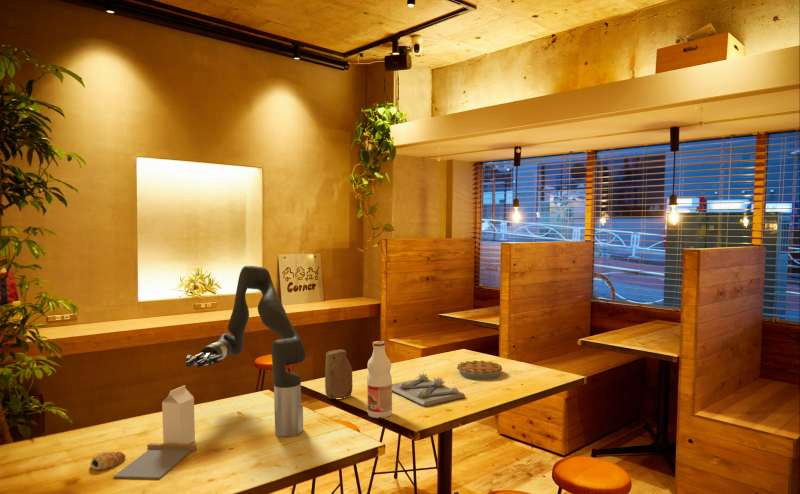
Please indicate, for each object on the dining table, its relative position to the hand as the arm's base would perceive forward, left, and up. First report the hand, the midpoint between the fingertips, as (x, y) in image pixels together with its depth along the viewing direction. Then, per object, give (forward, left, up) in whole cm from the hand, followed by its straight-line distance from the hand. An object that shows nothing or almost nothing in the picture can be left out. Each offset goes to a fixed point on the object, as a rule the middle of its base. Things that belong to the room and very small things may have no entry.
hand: (192, 364), depth 195 cm
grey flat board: (0, +27, -24) cm, 36 cm away
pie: (-105, -80, -24) cm, 134 cm away
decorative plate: (-80, -48, -25) cm, 96 cm away
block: (-44, -41, -24) cm, 65 cm away
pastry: (+15, +28, -24) cm, 40 cm away
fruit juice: (-64, -21, -24) cm, 72 cm away
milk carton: (0, +11, -24) cm, 27 cm away
